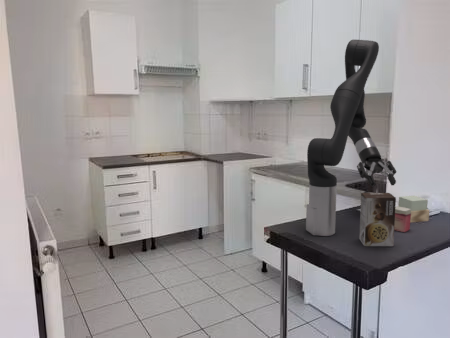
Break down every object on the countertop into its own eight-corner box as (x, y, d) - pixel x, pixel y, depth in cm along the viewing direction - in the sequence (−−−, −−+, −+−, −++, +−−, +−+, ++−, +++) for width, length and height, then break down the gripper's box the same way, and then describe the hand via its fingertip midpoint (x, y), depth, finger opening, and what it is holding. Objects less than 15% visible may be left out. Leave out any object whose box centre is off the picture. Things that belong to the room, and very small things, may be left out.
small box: (390, 229, 128) (391, 208, 127) (396, 226, 131) (397, 205, 129) (404, 232, 124) (406, 211, 123) (410, 230, 127) (411, 208, 125)
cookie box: (386, 239, 118) (389, 192, 115) (393, 247, 112) (397, 197, 109) (358, 239, 119) (360, 192, 116) (364, 246, 113) (366, 197, 110)
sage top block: (411, 211, 135) (412, 201, 134) (398, 206, 141) (399, 196, 141) (426, 209, 136) (427, 199, 136) (413, 205, 143) (414, 195, 142)
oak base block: (410, 223, 135) (411, 211, 134) (396, 217, 143) (396, 206, 142) (428, 221, 136) (429, 210, 136) (413, 215, 144) (414, 204, 143)
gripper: (355, 146, 140) (371, 180, 130) (387, 145, 142) (405, 178, 133) (347, 158, 146) (362, 191, 136) (378, 156, 148) (395, 189, 139)
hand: (384, 185), depth 135 cm, fingers open, 8 cm apart
